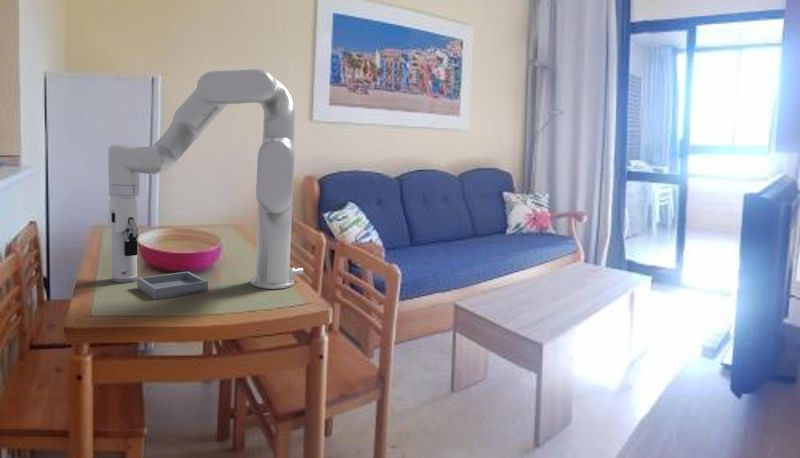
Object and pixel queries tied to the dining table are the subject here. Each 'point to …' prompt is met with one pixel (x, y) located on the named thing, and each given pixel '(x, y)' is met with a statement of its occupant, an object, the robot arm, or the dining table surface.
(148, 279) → the tray
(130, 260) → the travel mug
